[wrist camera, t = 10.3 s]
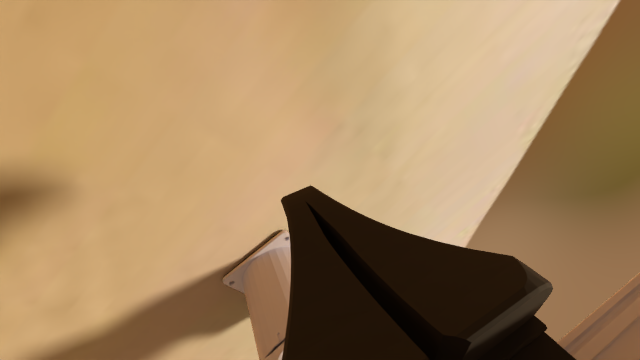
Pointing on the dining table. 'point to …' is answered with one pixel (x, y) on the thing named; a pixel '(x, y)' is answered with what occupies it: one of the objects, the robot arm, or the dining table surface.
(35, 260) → the dining table surface
